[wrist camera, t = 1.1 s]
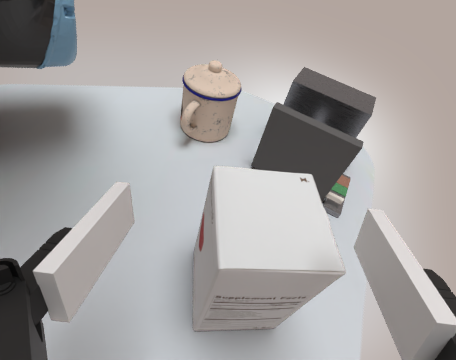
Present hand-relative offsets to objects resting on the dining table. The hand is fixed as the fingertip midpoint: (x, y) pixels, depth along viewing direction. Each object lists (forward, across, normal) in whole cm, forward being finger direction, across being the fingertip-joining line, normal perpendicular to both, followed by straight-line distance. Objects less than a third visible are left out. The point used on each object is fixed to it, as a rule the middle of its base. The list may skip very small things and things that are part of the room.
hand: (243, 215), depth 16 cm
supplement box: (+9, 0, -16) cm, 19 cm away
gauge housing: (+31, +10, -11) cm, 34 cm away
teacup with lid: (+33, -8, -7) cm, 35 cm away
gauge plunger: (+29, +9, -11) cm, 32 cm away
